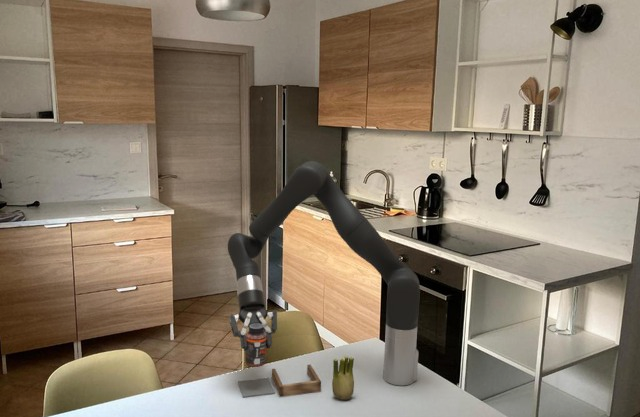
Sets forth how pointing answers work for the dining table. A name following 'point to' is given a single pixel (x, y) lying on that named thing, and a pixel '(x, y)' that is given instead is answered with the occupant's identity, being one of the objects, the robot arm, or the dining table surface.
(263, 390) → the slate mat
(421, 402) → the dining table surface
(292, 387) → the walnut stall
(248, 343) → the supplement bottle
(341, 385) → the fennel bulb
